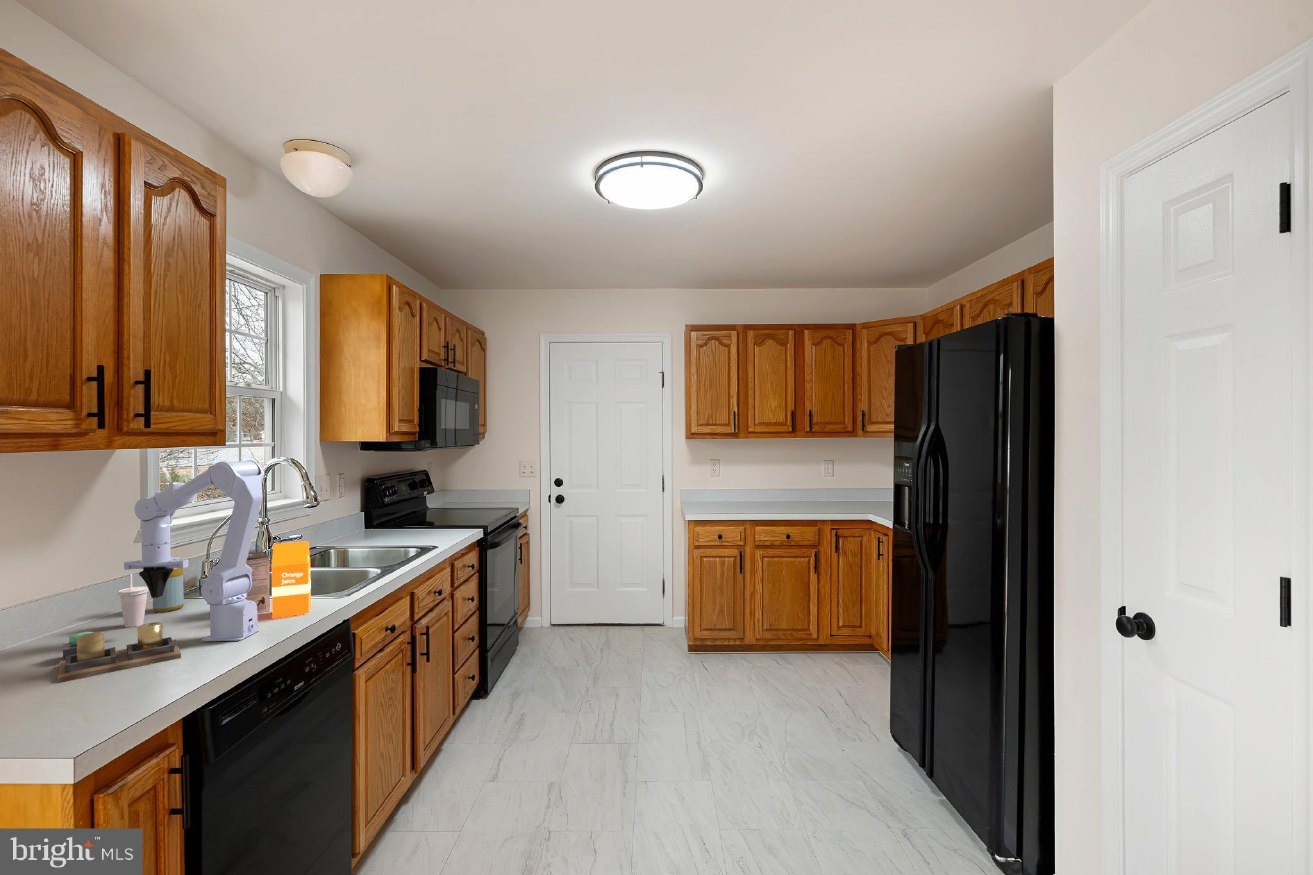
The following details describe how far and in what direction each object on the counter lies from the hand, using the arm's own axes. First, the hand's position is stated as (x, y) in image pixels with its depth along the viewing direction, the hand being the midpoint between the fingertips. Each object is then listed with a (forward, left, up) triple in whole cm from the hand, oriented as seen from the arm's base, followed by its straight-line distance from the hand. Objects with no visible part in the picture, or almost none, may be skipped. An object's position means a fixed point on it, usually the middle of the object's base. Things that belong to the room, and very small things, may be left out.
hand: (157, 596), depth 157 cm
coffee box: (-12, -20, -10) cm, 25 cm away
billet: (-11, +17, -8) cm, 21 cm away
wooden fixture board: (-7, +20, -9) cm, 23 cm away
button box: (+5, +16, -9) cm, 19 cm away
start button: (+5, +16, -6) cm, 18 cm away
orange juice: (-25, -16, -10) cm, 31 cm away
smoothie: (+12, -8, -10) cm, 17 cm away
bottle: (+14, -23, -10) cm, 29 cm away
